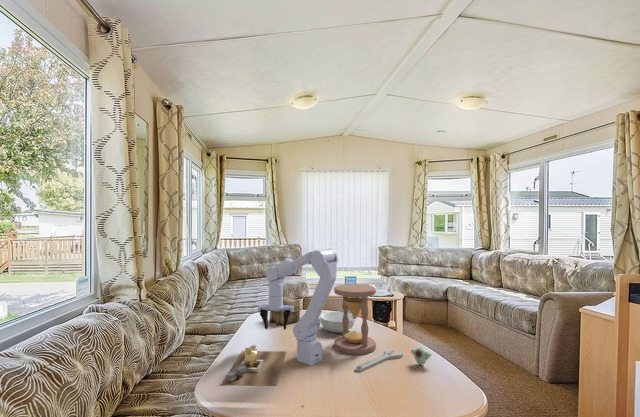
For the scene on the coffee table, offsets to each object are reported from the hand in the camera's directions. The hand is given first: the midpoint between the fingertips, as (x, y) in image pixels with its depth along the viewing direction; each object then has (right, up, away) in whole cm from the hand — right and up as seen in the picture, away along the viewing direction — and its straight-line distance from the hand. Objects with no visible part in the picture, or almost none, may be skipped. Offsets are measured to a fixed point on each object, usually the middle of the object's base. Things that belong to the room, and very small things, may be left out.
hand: (275, 328), depth 140 cm
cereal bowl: (+27, -11, +27) cm, 39 cm away
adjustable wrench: (+41, -10, -9) cm, 43 cm away
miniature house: (-1, -11, +42) cm, 43 cm away
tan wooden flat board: (-4, -9, -17) cm, 19 cm away
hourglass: (+33, -10, +6) cm, 35 cm away
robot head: (+56, -9, -13) cm, 58 cm away
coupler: (-7, -8, -18) cm, 20 cm away
